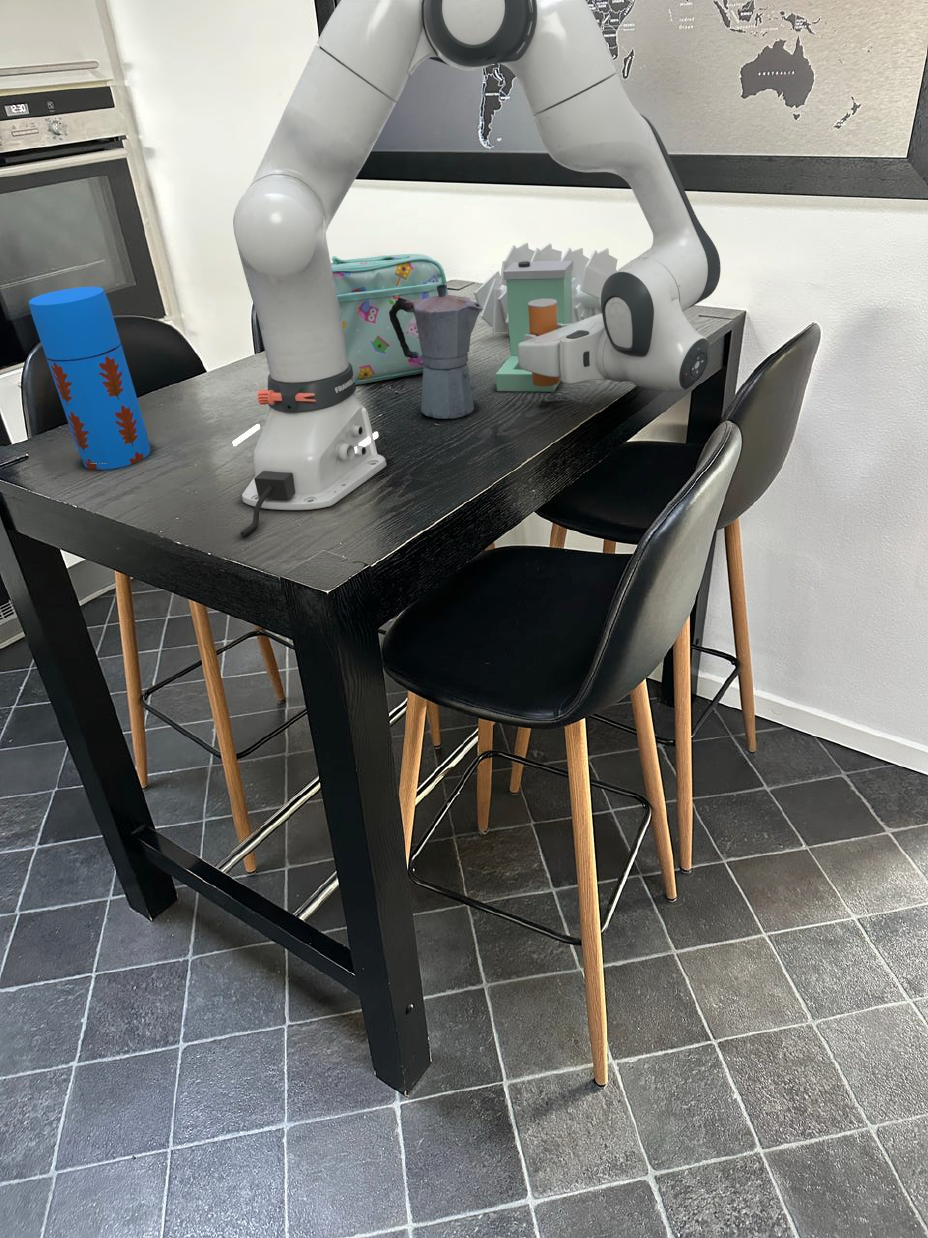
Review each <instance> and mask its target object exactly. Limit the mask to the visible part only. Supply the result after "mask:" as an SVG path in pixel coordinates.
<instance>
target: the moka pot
mask: <svg viewBox="0 0 928 1238" xmlns="http://www.w3.org/2000/svg"><path fill="white" fill-rule="evenodd" d="M446 289H447V290H448V285H447V286H446V285H438V286H437V291H438V296H432V297H427V298H425V299H422V300H417V299H410V300H407V299H403V298H398V300H397V301H396V302H395V305H393V306H392V309H391V310H390V311H389V316H390V321H391V323H392V325H393V328H394V330H395V332H396V335H397V337H398V340H399V341H400V345H401V347H402V350H403V352H404V355H405V356H406V357H410V358H416V359H417V358H418V356H419V354H418V353H417V352H411V351H410V350H409V347H408V345H407V343H406V342H405V341H406V340H405V337H404V333H403V331H402V328H401V326H400V322H399V319H398V318H397V312H398V311H399V310H404V311H405V312H409V313H414V315H415V319H416V325H417V330H418V335H419V341H420V346H421V351H422V358H423V364H424V367H423V373H422V385H421V399H420V412H421V413H422V414H423V415H425V416H427V417H430V418H431V419H439V420H440V419H444V420H448V419H449V420H450V419H451V420H452V419H457V418H462V417H465V416H467V415H470V414H471V413H472V412H473V411H474V410H475V405H474V398H473V391H472V386H471V380H470V373H469V366H468V360H469V357H468V356H469V355H468V353H470V347H471V346H470V345H471V336H472V332H473V331H474V328H475V325H476V323H477V320H478V318H479V316H480V314H481V312H480V311H482V310H483V307H482V305H480V304H478V303H477V301H473V300H471V298H470V297H466V296H460V295H454V294H448V295H446Z"/></svg>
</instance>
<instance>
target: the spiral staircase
mask: <svg viewBox="0 0 928 1238" xmlns="http://www.w3.org/2000/svg"><path fill="white" fill-rule="evenodd" d="M609 251H610V250H609V247H606V248H604V249H602V250H600V251H599V252H598V251H597V249H596V250H593V251H592V253H591V255H590V257H587V256H586V255H584V248H583V247H579V248H577V249H574V250H572V248H571V247H568V248H567V249H566V251H565V252H564V254H563V251H562V250H558V249H555V248H553V245H552V243H551V242H549V243H547V244H546V245H545V246H543V247H542V248H539V247H536V248H535V250H533V249H531V248H529V242H524V243H522V244H521V245H519V246H517V247H516V245H514V244H513V245H512V246H511V248H510V250H509V251H508V253H507V255H506V257H505V259H504V260H502V262H501V263H502V264H501V270H500V271H499V270H496V271H495V272H494V273H493V274H492V275H491V276H490V277H489V278H488V279H487V280H486V281H484V283H483V284H481V285H480V287H478V288H477V289H476V290H475V291H474V292H473V295H474V299H475V302H477V303H478V304H480V305H482V307H483V310H482V311H480V315H479V317H480V318H481V319H482V320H483V321H484V322H485V323H486V324H487V325H488V326H489V327H490V328H492V333H494V334H498V333H499V334H500V333H507V334H508V337H510V333H509V317H508V301H507V285H506V280H504V271H505V270H506V269H507V268H508V267H509V266H510V265H511V264H512V263H514V262H524V261H528V262H539V261H571V260H573V269H572V271H571V280H572V319H573V323H576V322H578V321H581V320H584V319H587V318H589V317H592V316H595V315H598V314H600V313H602V310H601V293H602V288H603V285H604V283H605V281H606V280H607V279H608V278H609V277H610V276H611V275H612V274H614V273H615V272H616V271H618V270H617V265H618V261H619V259H618V258H616V257H614V256H612V255H610V252H609ZM562 254H563V256H562Z"/></svg>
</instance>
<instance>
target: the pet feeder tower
mask: <svg viewBox="0 0 928 1238" xmlns="http://www.w3.org/2000/svg"><path fill="white" fill-rule="evenodd" d="M572 269H573V260H571V261H539V262H528V261H524V262H514V263H512V264H511V265H510V266H509V267H508V268H507V269H506V270H505V271H504V280H506V285H507V301H508V317H509V333H510V336H509V347H510V348H509V349H510V356H518V344H519V343H521V342H523V341H524V335H525V334H528V333H530V330H529V312H528V303H529V302H530V301H533V300H537V299H555V300H556V301H557V319H558V323H559V324H571V323H573V319H572V280H571V271H572Z"/></svg>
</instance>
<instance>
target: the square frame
mask: <svg viewBox="0 0 928 1238" xmlns="http://www.w3.org/2000/svg"><path fill="white" fill-rule="evenodd" d="M561 382H562V381H561V377H560V382H559V383H558V384H556V385H552V386H536V385H534V384H533V383H532V372H529V371H526V370H524V369H522V368H521V367H520V365H519V361H518V356H511V355H510V356H509V357H508V358H507V360H505V362H504V363H503V364H502V365H501V367H500V368H499V369H498V370H497V371H496V373H495V385H496V387H495V388H496V392H539V393H540V392H542V393H544V392H545V393H546V392H549V393H551V392H553V393H554V392H555V391H556V389H557V387H558V386H559V385H560V383H561Z"/></svg>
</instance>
